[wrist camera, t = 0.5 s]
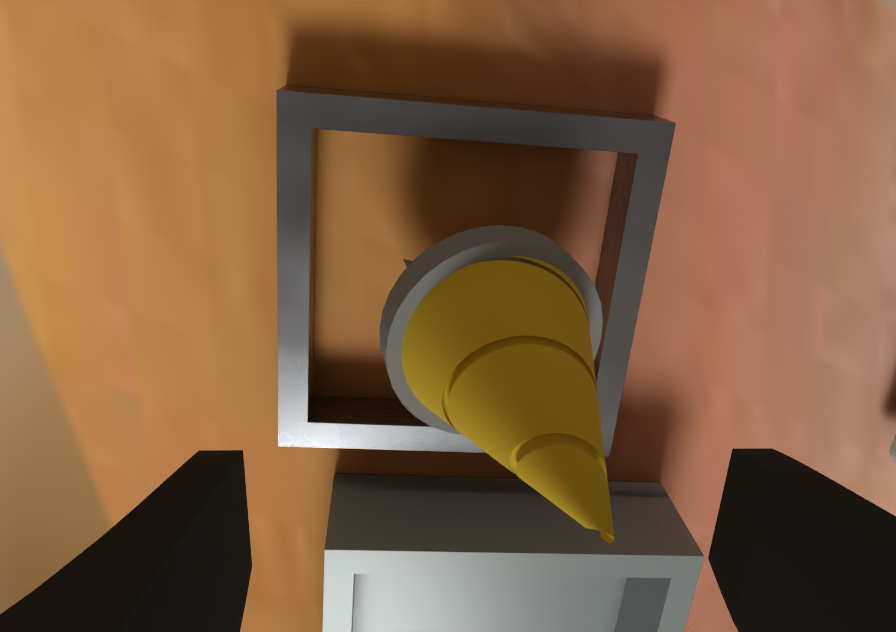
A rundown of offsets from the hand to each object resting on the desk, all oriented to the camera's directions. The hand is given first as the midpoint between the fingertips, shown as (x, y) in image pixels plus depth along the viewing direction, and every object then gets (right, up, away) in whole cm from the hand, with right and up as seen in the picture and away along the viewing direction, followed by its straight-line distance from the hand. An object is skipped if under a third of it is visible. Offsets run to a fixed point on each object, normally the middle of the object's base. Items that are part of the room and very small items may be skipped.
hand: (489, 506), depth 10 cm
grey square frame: (0, +4, +10) cm, 10 cm away
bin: (+1, -7, +14) cm, 16 cm away
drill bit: (0, +4, +10) cm, 11 cm away
